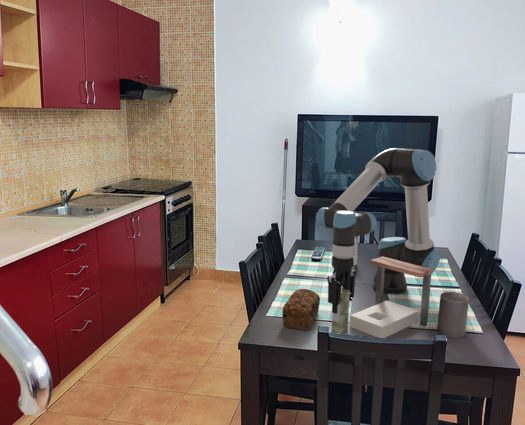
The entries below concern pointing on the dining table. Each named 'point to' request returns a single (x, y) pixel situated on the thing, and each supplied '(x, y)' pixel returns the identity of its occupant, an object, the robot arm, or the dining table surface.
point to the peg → (342, 313)
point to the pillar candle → (452, 314)
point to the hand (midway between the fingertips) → (340, 319)
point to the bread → (301, 309)
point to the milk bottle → (355, 252)
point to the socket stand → (388, 313)
